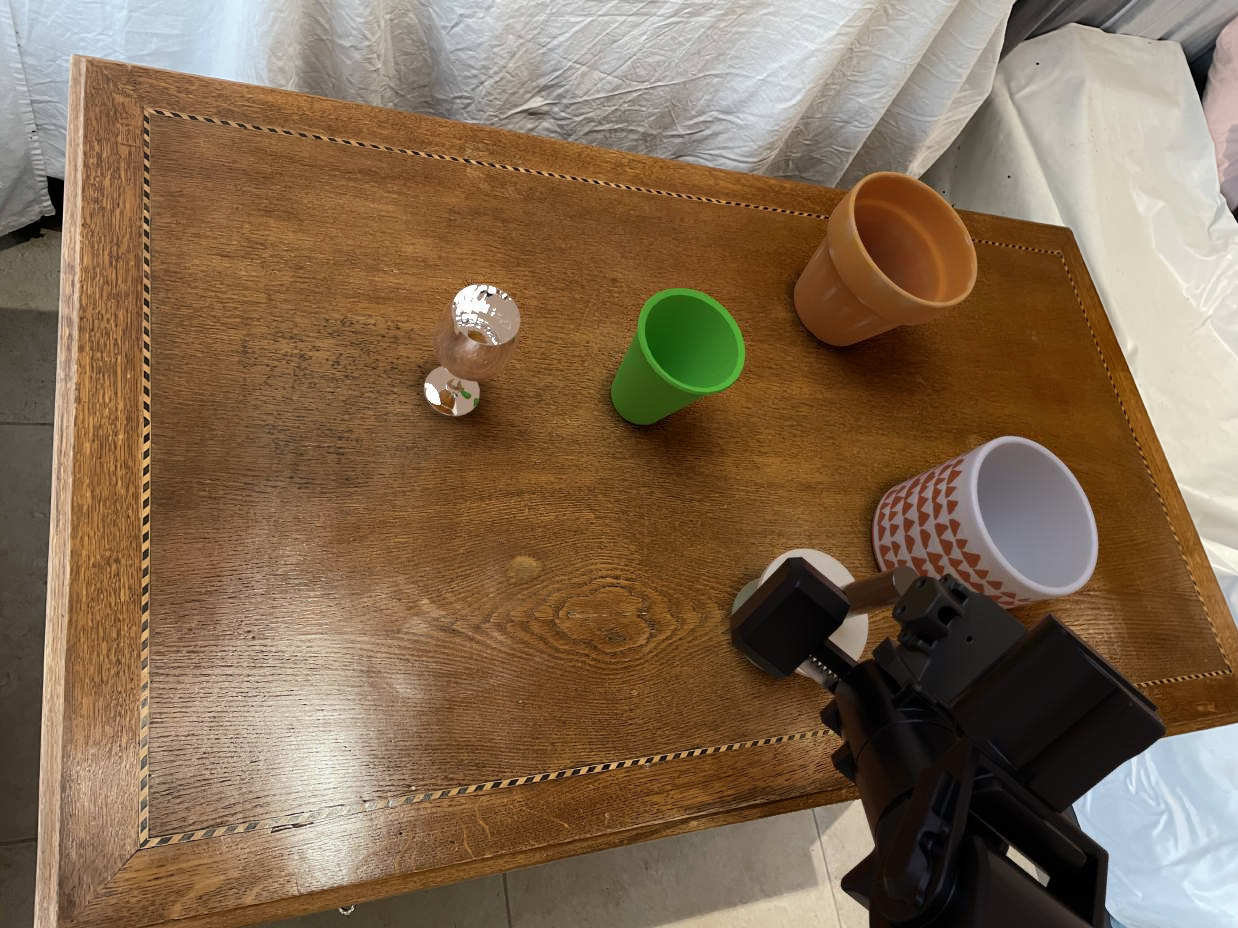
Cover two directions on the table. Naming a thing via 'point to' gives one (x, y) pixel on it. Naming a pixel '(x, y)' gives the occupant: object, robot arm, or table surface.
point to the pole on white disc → (853, 595)
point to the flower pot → (885, 262)
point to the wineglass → (471, 347)
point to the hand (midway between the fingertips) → (853, 629)
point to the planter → (992, 524)
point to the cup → (677, 356)
